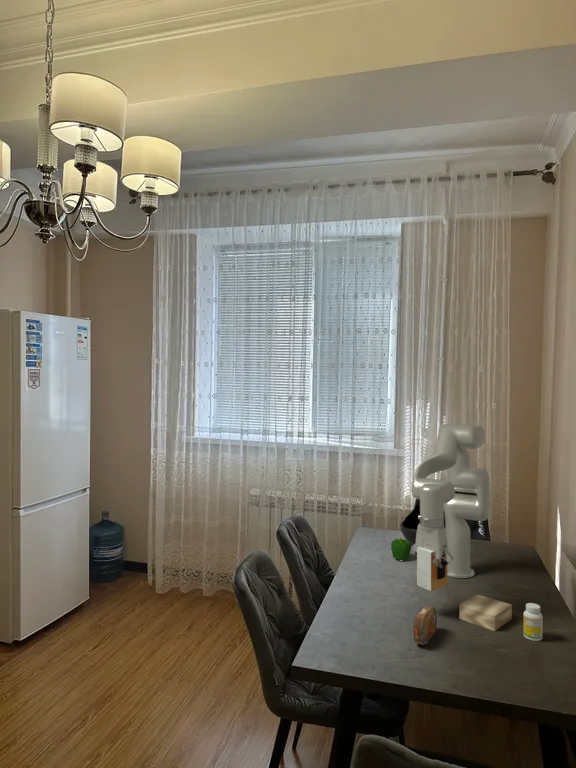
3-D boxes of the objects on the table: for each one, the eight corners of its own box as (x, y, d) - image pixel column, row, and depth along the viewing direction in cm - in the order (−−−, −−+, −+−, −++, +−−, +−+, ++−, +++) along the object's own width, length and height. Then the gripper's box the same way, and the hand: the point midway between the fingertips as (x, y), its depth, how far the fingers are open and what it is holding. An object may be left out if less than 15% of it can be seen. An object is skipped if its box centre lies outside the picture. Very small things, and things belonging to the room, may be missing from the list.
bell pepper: (396, 554, 244) (396, 532, 244) (413, 558, 240) (413, 535, 239) (387, 560, 238) (387, 537, 237) (405, 564, 233) (405, 540, 232)
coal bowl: (431, 556, 241) (431, 513, 241) (391, 547, 255) (391, 506, 254) (452, 546, 256) (452, 505, 256) (414, 537, 270) (414, 498, 269)
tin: (422, 650, 161) (422, 621, 161) (411, 647, 163) (411, 619, 162) (437, 629, 174) (437, 603, 174) (427, 627, 175) (427, 601, 175)
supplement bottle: (538, 643, 165) (538, 611, 165) (520, 636, 169) (520, 605, 168) (545, 637, 168) (545, 605, 168) (527, 631, 172) (528, 600, 172)
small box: (431, 592, 180) (431, 552, 179) (416, 585, 185) (416, 547, 185) (448, 585, 185) (447, 547, 184) (433, 579, 190) (433, 542, 189)
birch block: (459, 619, 181) (459, 604, 181) (477, 608, 190) (477, 594, 189) (494, 632, 173) (494, 616, 173) (511, 619, 181) (511, 604, 181)
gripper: (403, 518, 188) (404, 570, 189) (446, 530, 175) (447, 586, 176) (418, 514, 193) (418, 564, 194) (461, 525, 179) (461, 580, 180)
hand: (432, 574), depth 185 cm, fingers closed on small box, 6 cm apart
